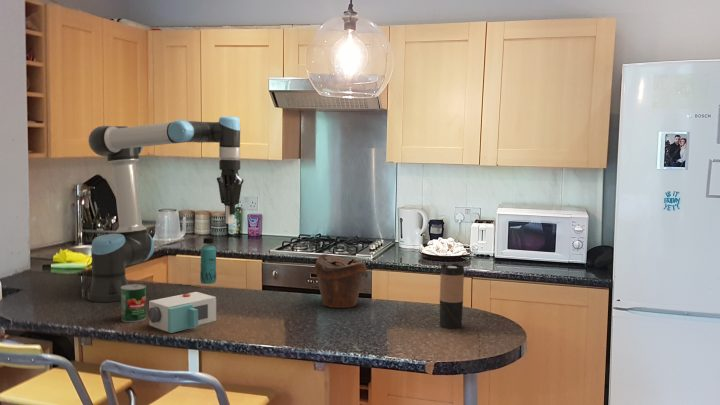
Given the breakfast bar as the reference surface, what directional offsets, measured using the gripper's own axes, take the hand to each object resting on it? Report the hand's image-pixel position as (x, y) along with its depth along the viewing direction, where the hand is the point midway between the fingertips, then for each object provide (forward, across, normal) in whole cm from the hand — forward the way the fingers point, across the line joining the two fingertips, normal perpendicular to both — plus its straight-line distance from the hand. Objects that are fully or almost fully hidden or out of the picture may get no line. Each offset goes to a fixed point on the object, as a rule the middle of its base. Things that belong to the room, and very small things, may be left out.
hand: (229, 223), depth 238 cm
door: (+29, -20, +34) cm, 49 cm away
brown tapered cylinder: (+30, -32, -26) cm, 51 cm away
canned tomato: (+30, +4, +37) cm, 48 cm away
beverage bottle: (+30, +27, -10) cm, 41 cm away
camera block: (+29, -12, +28) cm, 43 cm away
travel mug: (+30, -77, -30) cm, 88 cm away
